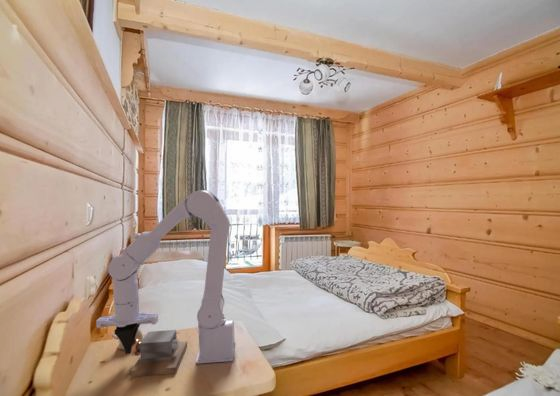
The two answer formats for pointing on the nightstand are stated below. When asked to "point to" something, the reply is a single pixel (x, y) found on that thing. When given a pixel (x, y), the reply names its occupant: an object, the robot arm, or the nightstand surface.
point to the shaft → (136, 346)
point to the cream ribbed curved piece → (138, 336)
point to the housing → (159, 354)
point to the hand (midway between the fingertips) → (129, 351)
